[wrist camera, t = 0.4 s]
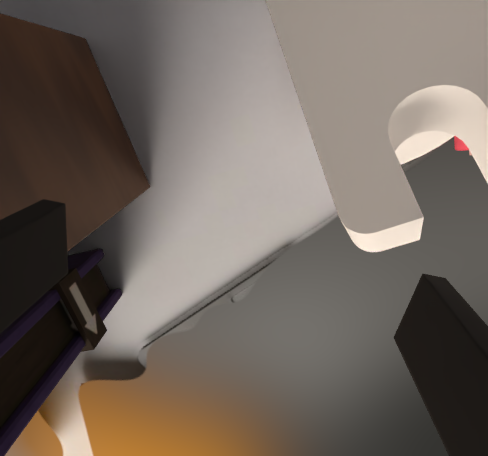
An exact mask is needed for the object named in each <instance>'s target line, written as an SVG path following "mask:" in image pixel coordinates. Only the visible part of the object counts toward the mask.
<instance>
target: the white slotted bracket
mask: <svg viewBox="0 0 488 456" xmlns="http://www.w3.org/2000/svg"><path fill="white" fill-rule="evenodd" d="M266 3H267V6H268V9H269V12H270V15H271V18H272V21H273V24H274V27H275V30H276V33H277V36H278V39H279V42H280V45H281V48H282V51H283V54H284V57H285V59H286V62H287V65H288V68H289V71H290V74H291V77H292V80H293V83H294V86H295V89H296V92H297V95H298V98H299V101H300V104H301V107H302V110H303V113H304V116H305V118H306V121H307V124H308V127H309V130H310V133H311V136H312V139H313V142H314V145H315V148H316V151H317V154H318V157H319V160H320V163H321V166H322V169H323V172H324V175H325V177H326V180H327V183H328V186H329V189H330V192H331V195H332V198H333V201H334V204H335V207H336V210H337V213H338V216H339V218H340V220H341V222H342V224H343V225H344V227H345V229H346V230H347V232H348V234H349V236H350V237H351V239H352V241H353V242H354V243H355V245H356V246H357V247H359V248H360V249H362V250H365V251H368V252H380V251H383V250H387V249H390V248H393V247H397V246H400V245H403V244H407V243H410V242H414V241H417V240H420V235H421V229H422V224H423V219H424V217H423V215H422V212H421V210H420V208H419V205H418V203H417V201H416V199H415V196H414V194H413V192H412V190H411V187H410V185H409V183H408V181H407V178H406V176H405V174H404V172H403V169H402V167H401V164H404V163H406V162H408V161H411V160H413V159H415V158H418V157H420V156H422V155H424V154H426V153H428V152H429V151H431V150H433V149H435V148H437V147H439V146H440V145H442V144H443V143H445V142H446V141H448V140H449V139H451V138H452V137H454V136H456V137H458V138H459V139H461V140H462V141H463V142H464V143H465V144H466V146H467V147H468V148H469V150H470V152H471V154H472V156H473V157H474V159H475V161H476V163H477V164H478V166H479V168H480V170H481V172H482V174H483V176H484V178H485V179H486V181H487V183H488V0H266Z"/></svg>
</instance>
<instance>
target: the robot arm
mask: <svg viewBox="0 0 488 456" xmlns="http://www.w3.org/2000/svg"><path fill="white" fill-rule="evenodd" d="M66 274H68V253H67V229H66V205H65V203H61V202H56V201H51V200H46V199H42V200H40V201H38V202H36V203H34V204H32V205H30V206H28V207H26V208H24V209H22V210H20V211H18V212H15V213H13V214H11V215H9V216H7V217H5V218H3V219H1V220H0V334H1V333H2V332H3V331H4V330H5V329H6V328H7V327H8V326H10V325H11V324H12V323H13V322H14V321H15V320H16V319H17V318H18V317H20V316H21V315H22V314H23V313H24V312H25V311H26V310H27V309H28V308H30V307H31V306H32V305H33V304H34V303H35V302H36V301H37V300H39V299H40V298H41V297H42V296H43V295H44V294H45V293H46V292H47V291H49V290H50V289H51V288H52V287H53V286H54V285H55V284H56V283H58V282H59V281H60V280H61V279H62V278H63V277H64V276H65V275H66ZM394 339H395V341H396V344H397V346H398V348H399V350H400V352H401V354H402V357H403V359H404V361H405V363H406V365H407V367H408V369H409V371H410V373H411V376H412V378H413V380H414V382H415V384H416V386H417V389H418V391H419V393H420V395H421V397H422V399H423V401H424V404H425V406H426V408H427V410H428V412H429V414H430V416H431V419H432V421H433V423H434V425H435V427H436V429H437V431H438V433H439V435H440V437H441V440H442V442H443V444H444V446H445V448H446V451H447V453H448V455H449V456H488V326H487V325H486V324H485V322H484V321H483V320H482V319H481V318H480V317H479V316H478V315H477V313H476V312H475V311H474V310H473V309H472V308H471V307H470V305H469V304H468V303H467V302H466V301H465V300H464V299H463V298H462V296H461V295H460V294H459V293H458V292H457V291H456V290H455V289H454V287H453V286H452V285H451V284H450V283H449V282H448V281H447V279H446V278H442V277H437V276H432V275H427V274H422V276H421V278H420V280H419V283H418V285H417V287H416V289H415V292H414V294H413V296H412V298H411V301H410V303H409V305H408V307H407V309H406V312H405V314H404V316H403V318H402V320H401V323H400V325H399V327H398V329H397V331H396V334H395V336H394Z"/></svg>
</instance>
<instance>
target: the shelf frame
mask: <svg viewBox="0 0 488 456" xmlns="http://www.w3.org/2000/svg"><path fill="white" fill-rule="evenodd" d="M148 188H150V185H149V183H148V180H147V178H146V176H145V173H144V171H143V169H142V167H141V164H140V162H139V160H138V158H137V155H136V153H135V151H134V148H133V146H132V144H131V142H130V139H129V137H128V135H127V133H126V130H125V128H124V126H123V123H122V121H121V119H120V117H119V114H118V112H117V110H116V108H115V105H114V103H113V101H112V98H111V96H110V94H109V92H108V89H107V87H106V85H105V82H104V80H103V78H102V76H101V73H100V71H99V69H98V67H97V64H96V62H95V60H94V57H93V55H92V53H91V51H90V48H89V46H88V44H87V42H86V39H85V38H82V37H79V36H75V35H72V34H69V33H65V32H62V31H58V30H55V29H52V28H48V27H45V26H42V25H38V24H35V23H31V22H28V21H25V20H21V19H18V18H14V17H11V16H8V15H4V14H1V13H0V220H1V219H3V218H5V217H7V216H9V215H11V214H13V213H15V212H18V211H20V210H22V209H24V208H26V207H28V206H30V205H32V204H34V203H36V202H38V201H40V200H42V199H46V200H51V201H56V202H61V203H65V205H66V229H67V252H68V251H69V250H70V249H71V248H73V247H74V246H75V245H77V244H78V243H79V242H80V241H82V240H83V239H84V238H86V237H87V236H88V235H89V234H91V233H92V232H93V231H94V230H96V229H97V228H98V227H100V226H101V225H102V224H103V223H105V222H106V221H107V220H109V219H110V218H111V217H112V216H114V215H115V214H116V213H118V212H119V211H120V210H121V209H123V208H124V207H125V206H127V205H128V204H129V203H130V202H132V201H133V200H134V199H136V198H137V197H138V196H139V195H141V194H142V193H143V192H145V191H146V190H147V189H148Z"/></svg>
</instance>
